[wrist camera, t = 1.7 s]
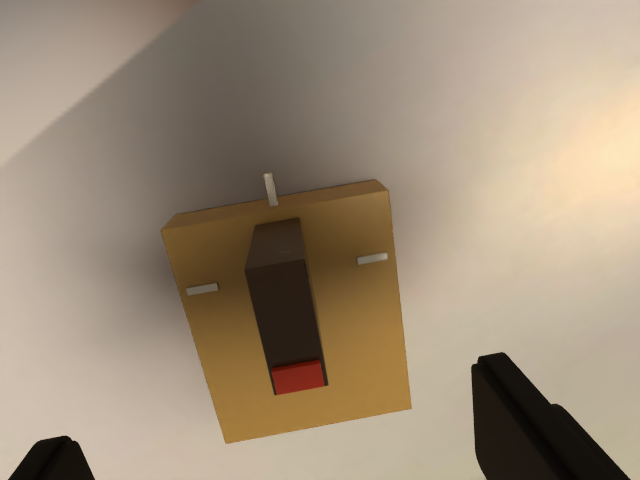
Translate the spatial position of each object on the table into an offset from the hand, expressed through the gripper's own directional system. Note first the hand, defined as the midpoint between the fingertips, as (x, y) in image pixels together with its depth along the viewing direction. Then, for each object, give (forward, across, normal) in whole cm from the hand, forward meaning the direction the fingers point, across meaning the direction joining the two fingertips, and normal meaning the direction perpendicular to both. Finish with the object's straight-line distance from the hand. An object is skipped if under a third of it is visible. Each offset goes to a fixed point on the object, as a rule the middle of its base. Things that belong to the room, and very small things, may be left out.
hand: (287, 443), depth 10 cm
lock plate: (+12, 0, +3) cm, 12 cm away
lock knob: (+10, 0, 0) cm, 10 cm away
